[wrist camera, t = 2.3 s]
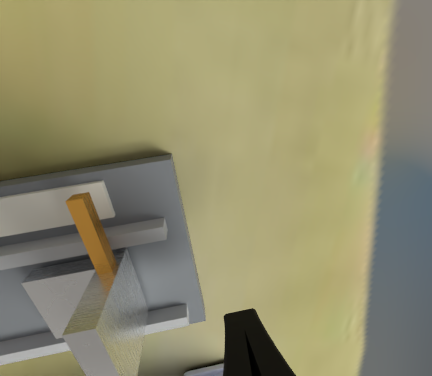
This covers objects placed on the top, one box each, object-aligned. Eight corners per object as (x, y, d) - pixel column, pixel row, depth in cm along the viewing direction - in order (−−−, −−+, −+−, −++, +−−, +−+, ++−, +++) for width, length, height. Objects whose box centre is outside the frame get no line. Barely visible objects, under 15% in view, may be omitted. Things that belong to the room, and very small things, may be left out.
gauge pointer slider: (148, 309, 15) (132, 401, 10) (66, 326, 14) (13, 429, 10) (103, 181, 11) (49, 239, 7) (-8, 200, 11) (-142, 273, 6)
